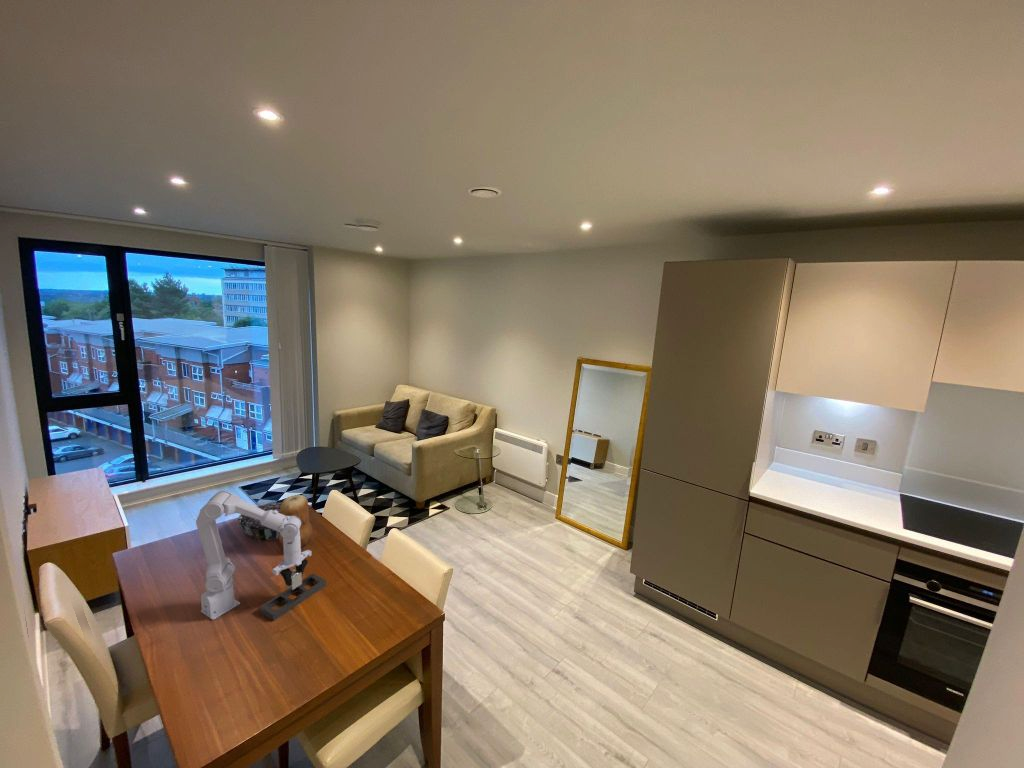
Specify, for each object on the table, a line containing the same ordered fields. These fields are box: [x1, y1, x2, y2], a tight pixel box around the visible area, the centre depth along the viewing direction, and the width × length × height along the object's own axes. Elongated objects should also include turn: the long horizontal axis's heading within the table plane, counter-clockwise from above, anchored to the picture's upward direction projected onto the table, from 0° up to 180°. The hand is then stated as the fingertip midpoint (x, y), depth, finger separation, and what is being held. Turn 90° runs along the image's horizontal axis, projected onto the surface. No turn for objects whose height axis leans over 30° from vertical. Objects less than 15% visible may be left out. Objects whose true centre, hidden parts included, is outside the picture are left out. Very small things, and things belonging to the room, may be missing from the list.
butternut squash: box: [278, 494, 314, 549], centre depth 188 cm, size 14×13×25 cm
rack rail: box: [259, 573, 327, 622], centre depth 158 cm, size 22×8×2 cm, turn 153°
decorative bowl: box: [236, 502, 282, 542], centre depth 202 cm, size 26×28×10 cm
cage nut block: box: [284, 568, 303, 590], centre depth 157 cm, size 4×4×5 cm
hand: (293, 581), depth 157 cm, fingers closed on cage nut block, 4 cm apart
